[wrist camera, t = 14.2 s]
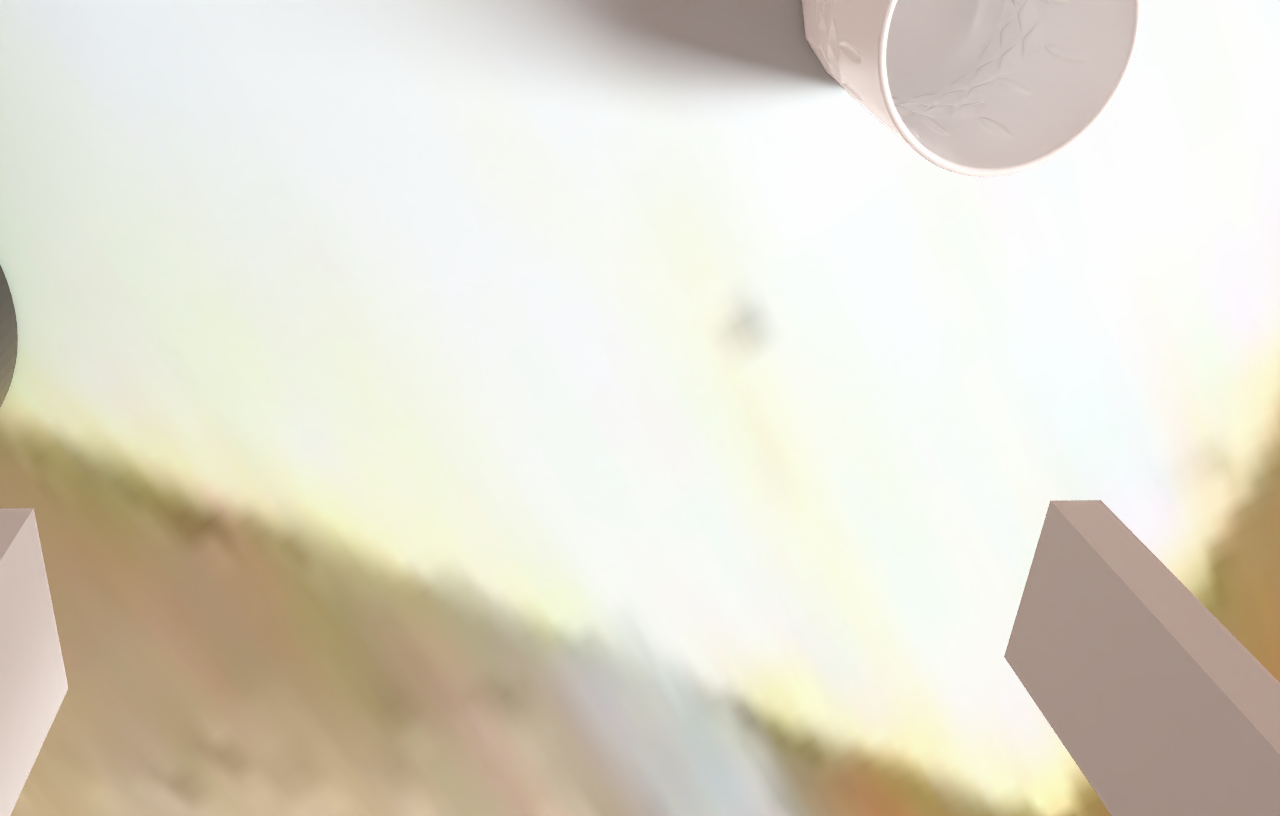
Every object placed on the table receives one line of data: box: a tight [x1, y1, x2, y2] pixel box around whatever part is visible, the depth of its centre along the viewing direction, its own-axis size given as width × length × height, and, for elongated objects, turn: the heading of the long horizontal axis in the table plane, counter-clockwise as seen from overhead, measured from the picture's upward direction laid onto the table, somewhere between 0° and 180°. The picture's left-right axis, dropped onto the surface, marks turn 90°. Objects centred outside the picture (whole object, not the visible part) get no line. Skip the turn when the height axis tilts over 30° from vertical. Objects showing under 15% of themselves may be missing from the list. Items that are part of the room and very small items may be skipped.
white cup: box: [802, 0, 1143, 177], centre depth 35 cm, size 8×8×10 cm
